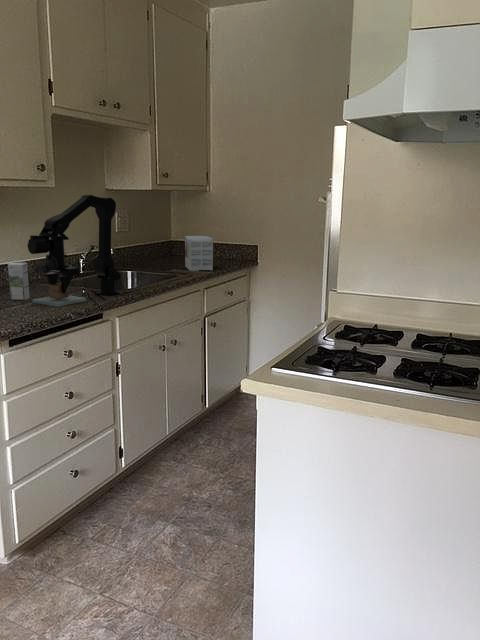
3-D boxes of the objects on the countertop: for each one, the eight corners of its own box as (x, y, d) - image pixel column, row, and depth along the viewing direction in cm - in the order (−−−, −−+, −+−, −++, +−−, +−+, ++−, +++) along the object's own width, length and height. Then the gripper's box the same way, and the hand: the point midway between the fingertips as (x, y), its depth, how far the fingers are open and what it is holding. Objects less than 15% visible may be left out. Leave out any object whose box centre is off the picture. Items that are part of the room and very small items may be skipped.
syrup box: (30, 297, 223) (27, 261, 220) (24, 300, 217) (22, 263, 214) (15, 297, 223) (12, 261, 220) (10, 300, 217) (7, 263, 214)
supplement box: (184, 267, 322) (184, 235, 318) (206, 266, 326) (206, 235, 322) (189, 271, 306) (189, 238, 302) (213, 270, 310) (213, 238, 306)
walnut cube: (59, 295, 219) (59, 283, 217) (68, 297, 216) (67, 284, 215) (49, 297, 214) (48, 284, 213) (58, 298, 212) (57, 286, 211)
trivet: (61, 297, 225) (61, 294, 225) (85, 300, 218) (85, 297, 218) (32, 302, 213) (32, 299, 213) (57, 306, 206) (57, 303, 206)
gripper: (22, 252, 209) (25, 292, 213) (56, 255, 200) (59, 298, 203) (46, 250, 219) (49, 289, 222) (79, 253, 209) (82, 293, 213)
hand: (59, 292), depth 215 cm, fingers open, 5 cm apart
